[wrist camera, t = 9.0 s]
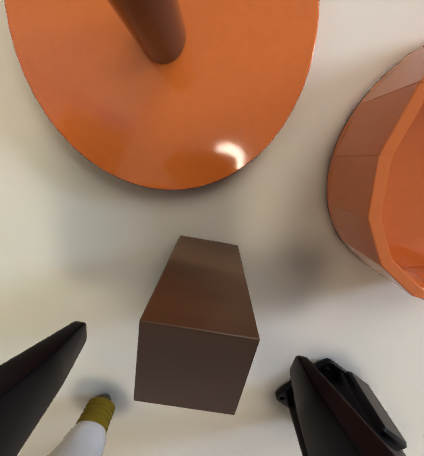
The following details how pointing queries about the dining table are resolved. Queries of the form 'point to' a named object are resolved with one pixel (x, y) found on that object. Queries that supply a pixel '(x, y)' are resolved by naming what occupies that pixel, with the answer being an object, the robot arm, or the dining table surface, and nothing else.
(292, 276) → the dining table surface
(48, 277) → the dining table surface
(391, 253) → the pot
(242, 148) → the lid
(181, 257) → the block
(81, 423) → the light bulb
